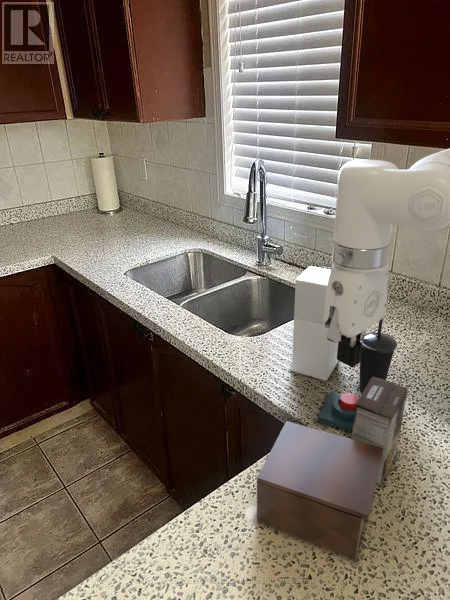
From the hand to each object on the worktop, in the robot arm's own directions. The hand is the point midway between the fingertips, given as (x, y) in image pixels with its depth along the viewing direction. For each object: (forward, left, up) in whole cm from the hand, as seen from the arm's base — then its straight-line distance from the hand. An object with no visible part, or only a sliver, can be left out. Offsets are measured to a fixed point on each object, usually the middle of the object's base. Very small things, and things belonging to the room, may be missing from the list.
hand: (347, 361), depth 71 cm
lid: (+1, +9, -14) cm, 17 cm away
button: (+1, -15, -21) cm, 25 cm away
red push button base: (+1, -15, -24) cm, 28 cm away
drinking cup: (-2, -25, -24) cm, 35 cm away
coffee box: (-6, -4, -24) cm, 25 cm away
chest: (+1, +9, -24) cm, 26 cm away
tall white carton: (+12, -29, -24) cm, 40 cm away
